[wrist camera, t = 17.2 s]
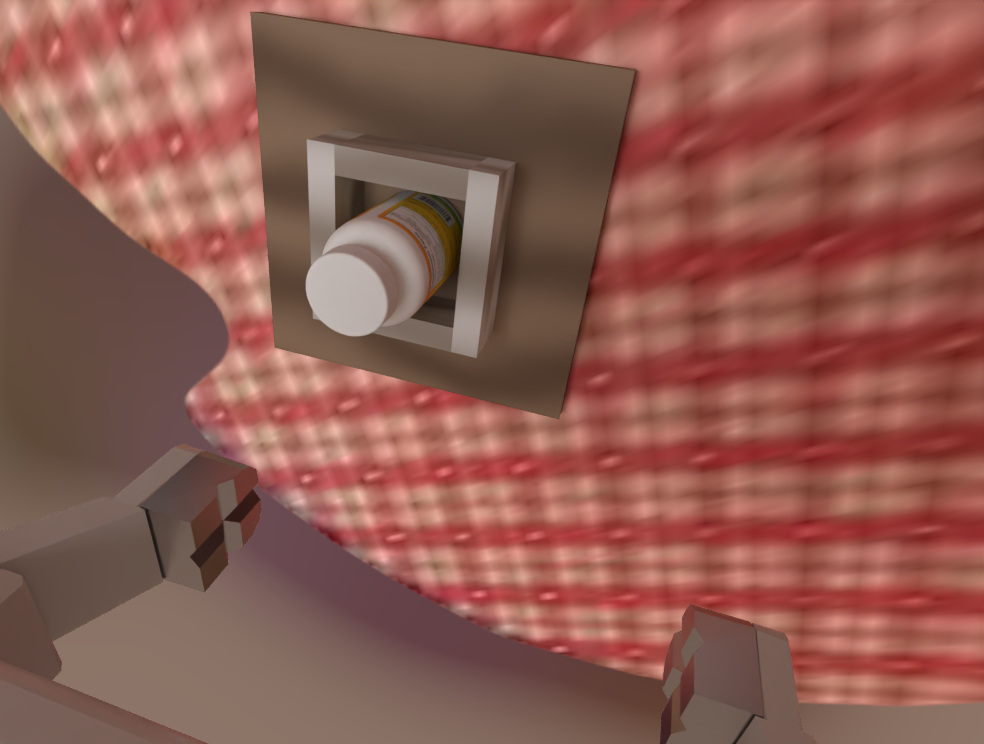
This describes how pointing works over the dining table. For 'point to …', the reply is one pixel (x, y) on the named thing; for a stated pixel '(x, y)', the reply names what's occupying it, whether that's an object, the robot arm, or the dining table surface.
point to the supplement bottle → (385, 263)
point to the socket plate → (441, 194)
